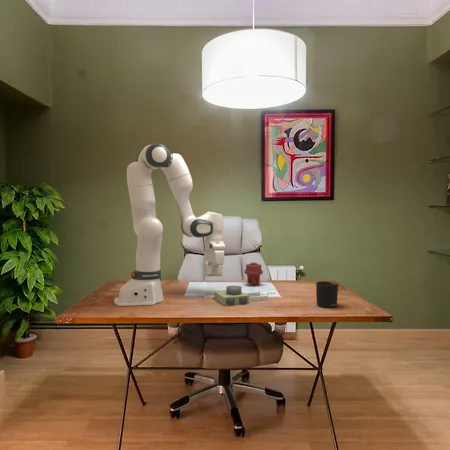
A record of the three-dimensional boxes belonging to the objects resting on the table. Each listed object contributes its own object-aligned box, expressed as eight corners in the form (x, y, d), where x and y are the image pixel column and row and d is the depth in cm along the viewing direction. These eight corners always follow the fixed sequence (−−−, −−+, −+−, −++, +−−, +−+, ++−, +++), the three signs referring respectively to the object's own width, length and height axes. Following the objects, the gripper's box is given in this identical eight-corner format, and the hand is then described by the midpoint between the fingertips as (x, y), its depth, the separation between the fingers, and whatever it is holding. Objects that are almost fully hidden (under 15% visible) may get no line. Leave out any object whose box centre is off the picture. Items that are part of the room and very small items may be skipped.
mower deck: (224, 306, 179) (224, 291, 179) (214, 298, 194) (214, 284, 193) (271, 302, 187) (271, 288, 186) (257, 294, 201) (257, 281, 201)
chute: (206, 276, 198) (207, 266, 198) (203, 274, 203) (203, 264, 203) (222, 276, 201) (222, 266, 201) (218, 274, 206) (219, 264, 206)
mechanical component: (244, 283, 230) (262, 283, 229) (243, 286, 220) (262, 287, 219) (245, 261, 229) (262, 261, 228) (244, 264, 219) (262, 264, 218)
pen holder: (316, 308, 177) (317, 285, 176) (315, 302, 186) (315, 281, 185) (339, 308, 175) (339, 285, 175) (336, 303, 185) (336, 281, 184)
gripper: (201, 242, 210) (200, 268, 211) (214, 246, 191) (213, 275, 192) (213, 242, 212) (212, 268, 213) (226, 246, 193) (225, 275, 194)
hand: (212, 272), depth 202 cm, fingers closed on chute, 5 cm apart
